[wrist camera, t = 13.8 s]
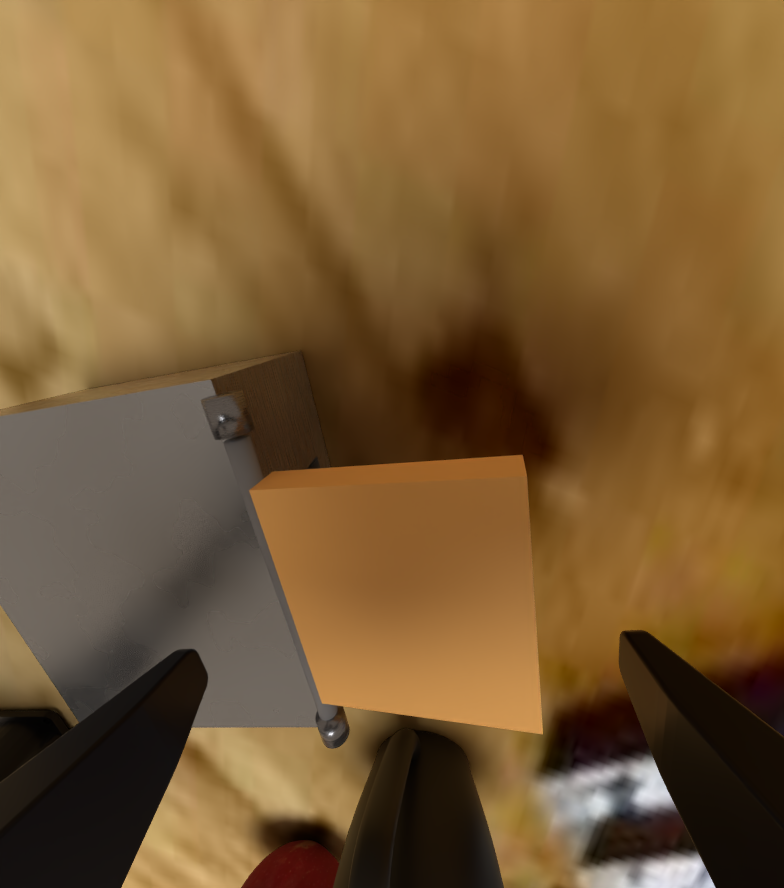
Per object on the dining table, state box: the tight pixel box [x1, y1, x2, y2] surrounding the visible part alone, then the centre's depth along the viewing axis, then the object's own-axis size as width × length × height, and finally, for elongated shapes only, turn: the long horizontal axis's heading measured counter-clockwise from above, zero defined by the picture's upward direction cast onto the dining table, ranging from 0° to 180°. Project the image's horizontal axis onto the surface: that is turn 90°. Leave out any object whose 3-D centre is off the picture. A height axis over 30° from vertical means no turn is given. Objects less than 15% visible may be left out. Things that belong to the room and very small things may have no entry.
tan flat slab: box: [223, 435, 543, 734], centre depth 9 cm, size 1×9×7 cm
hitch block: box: [0, 350, 349, 748], centre depth 14 cm, size 11×12×7 cm
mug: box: [333, 728, 504, 888], centre depth 17 cm, size 8×12×10 cm
